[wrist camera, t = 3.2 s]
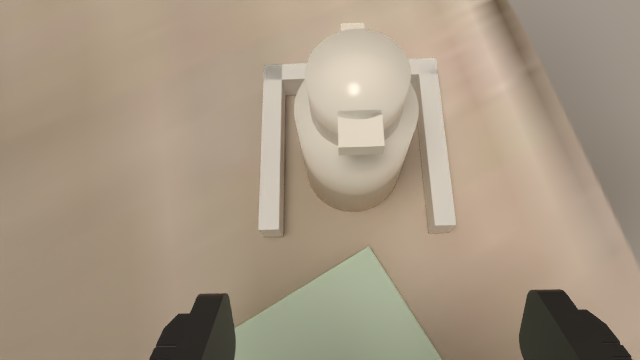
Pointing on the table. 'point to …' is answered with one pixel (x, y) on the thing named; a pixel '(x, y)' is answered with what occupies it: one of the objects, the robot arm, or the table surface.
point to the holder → (431, 141)
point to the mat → (338, 320)
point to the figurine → (355, 117)
